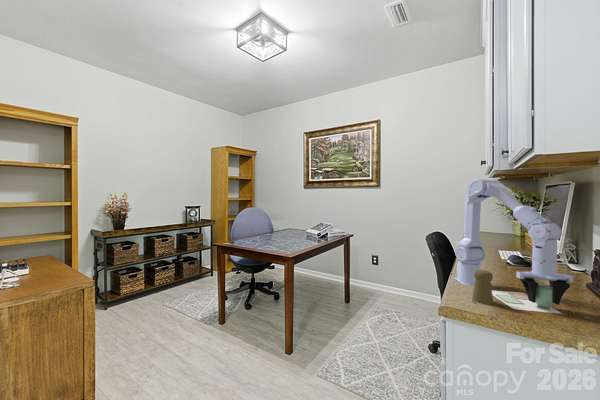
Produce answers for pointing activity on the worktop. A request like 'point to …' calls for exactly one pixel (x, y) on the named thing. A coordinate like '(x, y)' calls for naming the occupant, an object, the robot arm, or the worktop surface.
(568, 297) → the worktop surface
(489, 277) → the olive brown cylinder
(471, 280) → the robot arm
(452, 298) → the worktop surface
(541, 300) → the green cylinder
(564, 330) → the worktop surface
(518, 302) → the picture card
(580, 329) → the worktop surface
